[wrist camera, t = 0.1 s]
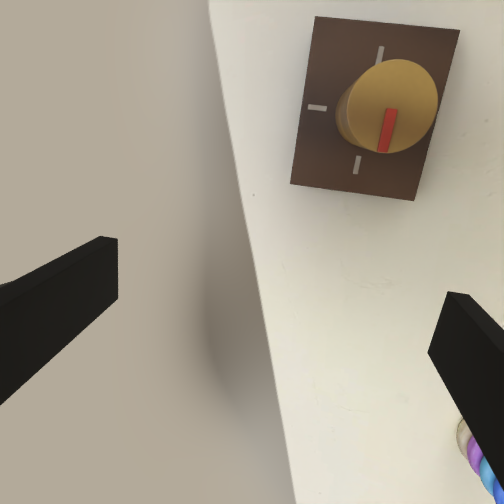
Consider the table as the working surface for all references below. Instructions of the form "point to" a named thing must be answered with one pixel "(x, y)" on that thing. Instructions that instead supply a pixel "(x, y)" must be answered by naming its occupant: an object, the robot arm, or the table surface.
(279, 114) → the table surface
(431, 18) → the table surface
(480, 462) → the stacking toy
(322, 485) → the table surface
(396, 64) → the lock knob
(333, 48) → the plate
